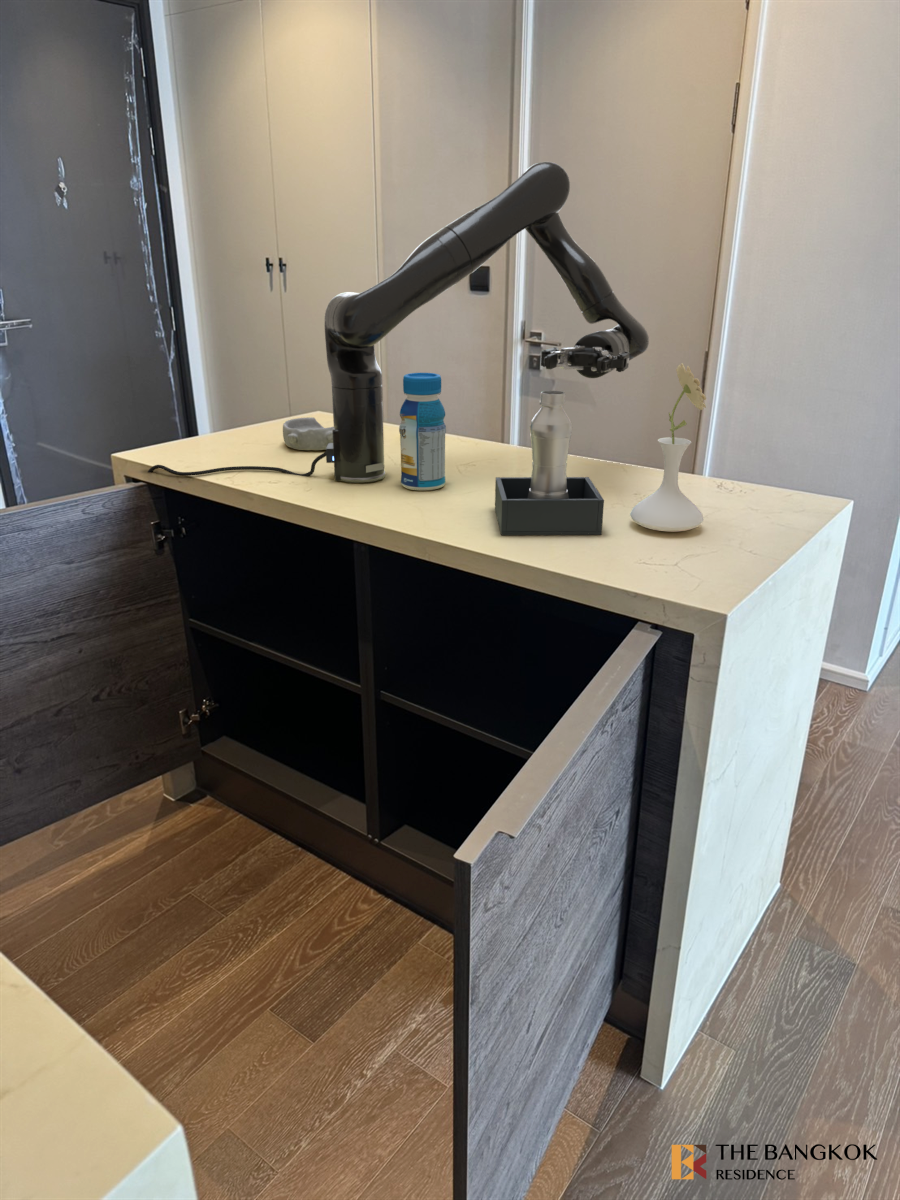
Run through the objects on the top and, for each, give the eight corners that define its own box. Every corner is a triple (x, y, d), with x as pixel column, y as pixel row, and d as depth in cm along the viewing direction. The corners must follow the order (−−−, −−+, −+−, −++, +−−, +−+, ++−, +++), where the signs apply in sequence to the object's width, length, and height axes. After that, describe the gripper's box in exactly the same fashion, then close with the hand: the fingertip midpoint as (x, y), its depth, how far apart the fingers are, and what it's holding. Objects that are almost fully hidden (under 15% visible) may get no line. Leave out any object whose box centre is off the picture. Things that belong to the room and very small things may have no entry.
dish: (294, 437, 197) (292, 415, 195) (353, 439, 195) (352, 417, 193) (273, 452, 183) (271, 428, 181) (336, 454, 182) (335, 430, 180)
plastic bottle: (570, 524, 136) (577, 396, 129) (527, 523, 136) (532, 395, 129) (565, 512, 142) (572, 389, 135) (524, 511, 142) (529, 388, 135)
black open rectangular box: (501, 535, 133) (502, 500, 131) (494, 509, 146) (495, 477, 143) (601, 534, 133) (604, 500, 131) (586, 509, 146) (588, 476, 144)
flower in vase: (701, 541, 131) (722, 372, 121) (625, 534, 134) (640, 369, 124) (702, 516, 142) (722, 360, 133) (632, 510, 145) (646, 357, 136)
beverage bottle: (439, 493, 155) (439, 379, 147) (394, 490, 156) (391, 377, 149) (450, 481, 162) (451, 372, 154) (407, 478, 164) (406, 370, 156)
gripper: (561, 329, 155) (532, 337, 141) (640, 333, 149) (618, 342, 136) (559, 372, 157) (530, 384, 144) (636, 378, 152) (614, 391, 139)
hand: (573, 364), depth 140 cm, fingers open, 8 cm apart
